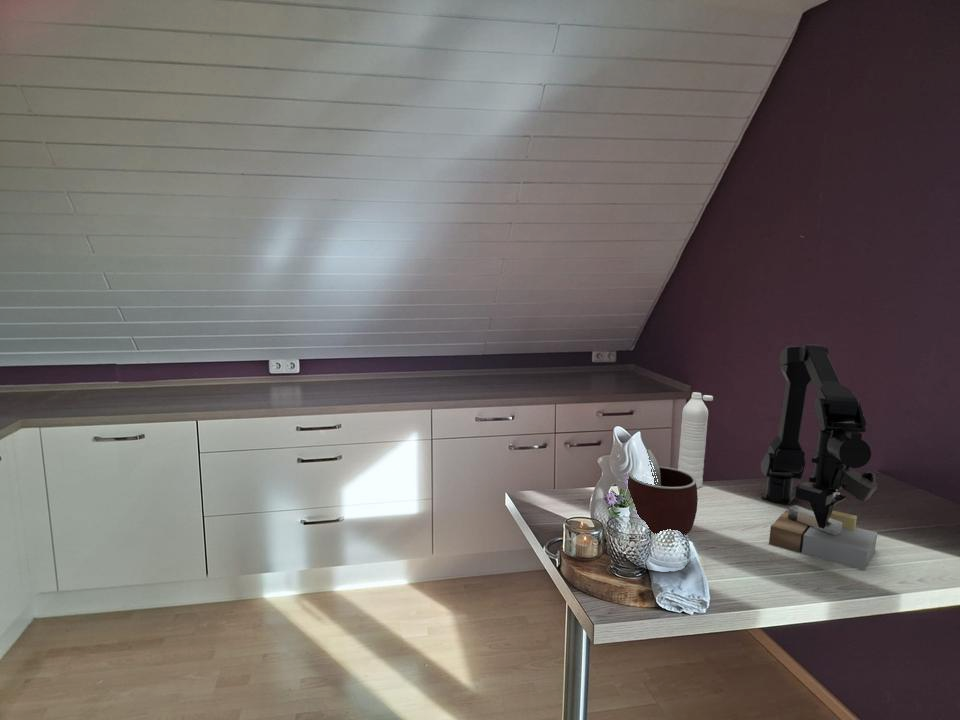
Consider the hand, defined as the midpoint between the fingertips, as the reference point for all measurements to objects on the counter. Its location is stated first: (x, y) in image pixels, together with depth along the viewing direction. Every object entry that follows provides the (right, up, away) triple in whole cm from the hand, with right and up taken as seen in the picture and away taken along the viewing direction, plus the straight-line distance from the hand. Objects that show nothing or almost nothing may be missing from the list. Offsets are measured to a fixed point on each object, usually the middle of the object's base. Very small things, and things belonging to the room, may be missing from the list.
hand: (821, 527), depth 137 cm
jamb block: (-3, -4, +6) cm, 8 cm away
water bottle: (-15, +1, +38) cm, 41 cm away
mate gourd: (-36, -5, -4) cm, 36 cm away
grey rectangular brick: (+4, -5, +1) cm, 7 cm away
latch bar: (0, 0, +4) cm, 4 cm away
